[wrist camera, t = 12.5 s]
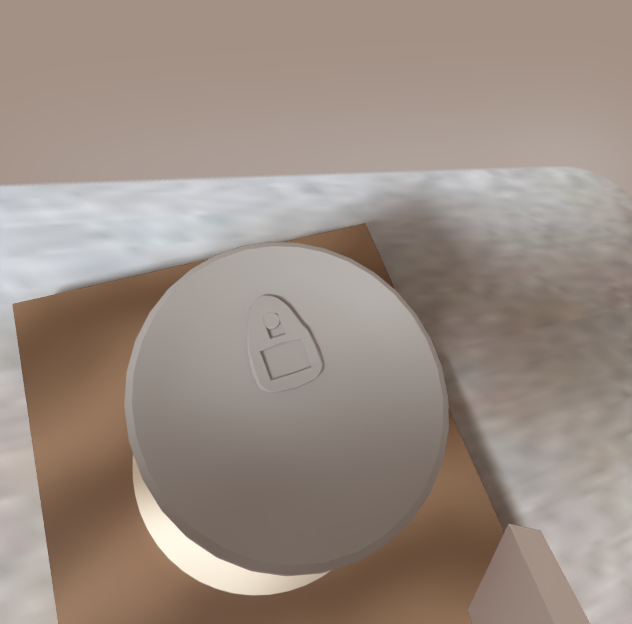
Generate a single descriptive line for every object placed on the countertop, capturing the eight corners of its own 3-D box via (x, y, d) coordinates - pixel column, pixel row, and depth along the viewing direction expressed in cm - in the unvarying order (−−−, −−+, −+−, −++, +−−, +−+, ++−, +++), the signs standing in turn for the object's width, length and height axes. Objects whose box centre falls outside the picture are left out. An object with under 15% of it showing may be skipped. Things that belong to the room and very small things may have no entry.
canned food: (285, 335, 24) (322, 194, 14) (388, 476, 22) (519, 430, 12) (139, 427, 21) (52, 335, 11) (243, 597, 19) (252, 674, 9)
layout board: (516, 606, 22) (543, 613, 20) (105, 811, 18) (88, 848, 16) (357, 242, 29) (365, 221, 27) (29, 320, 24) (10, 302, 22)
